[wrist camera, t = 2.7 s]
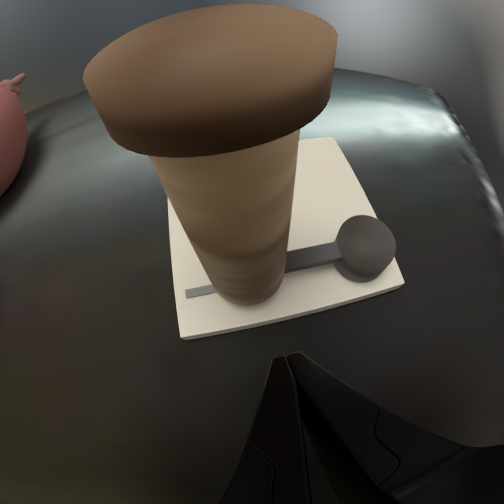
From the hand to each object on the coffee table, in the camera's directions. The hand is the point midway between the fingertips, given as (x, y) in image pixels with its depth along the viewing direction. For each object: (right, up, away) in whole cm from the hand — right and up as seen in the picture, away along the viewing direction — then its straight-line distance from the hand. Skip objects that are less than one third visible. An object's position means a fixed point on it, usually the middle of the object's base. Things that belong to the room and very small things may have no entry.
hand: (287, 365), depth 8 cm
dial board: (0, +5, +12) cm, 13 cm away
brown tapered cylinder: (+2, +2, +9) cm, 9 cm away
